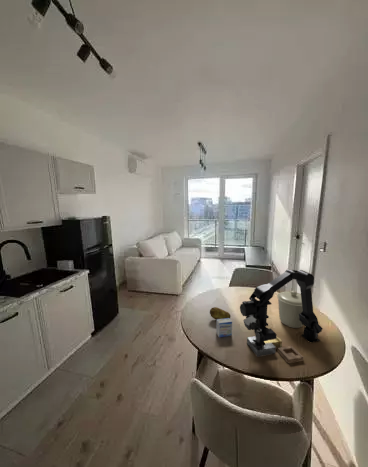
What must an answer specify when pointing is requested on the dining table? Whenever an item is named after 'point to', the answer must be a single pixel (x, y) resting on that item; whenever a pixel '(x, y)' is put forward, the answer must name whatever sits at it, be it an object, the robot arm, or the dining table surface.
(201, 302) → the dining table surface
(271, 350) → the socket block
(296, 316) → the canister
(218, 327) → the medicine box
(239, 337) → the dining table surface
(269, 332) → the robot arm
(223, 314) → the potato
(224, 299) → the dining table surface
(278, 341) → the drift key
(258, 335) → the grey peg
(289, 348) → the brown square frame
